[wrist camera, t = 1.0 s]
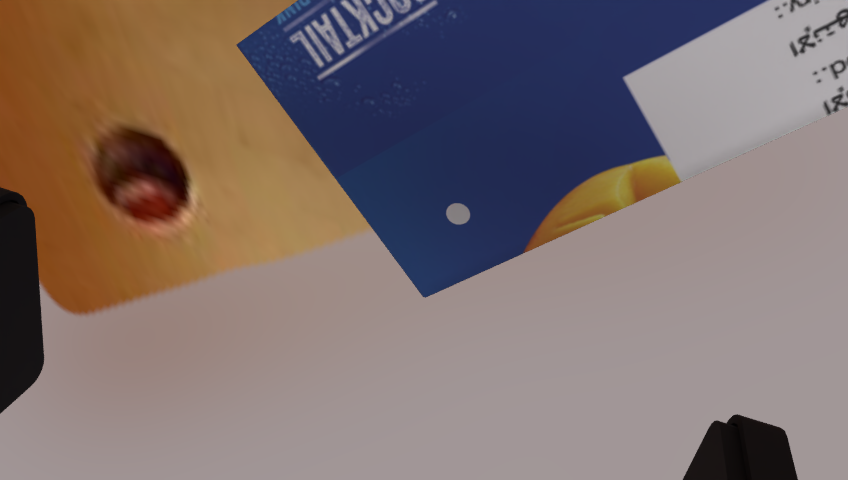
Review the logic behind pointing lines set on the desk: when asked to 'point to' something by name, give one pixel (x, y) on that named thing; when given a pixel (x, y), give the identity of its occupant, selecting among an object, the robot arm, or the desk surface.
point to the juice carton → (537, 107)
